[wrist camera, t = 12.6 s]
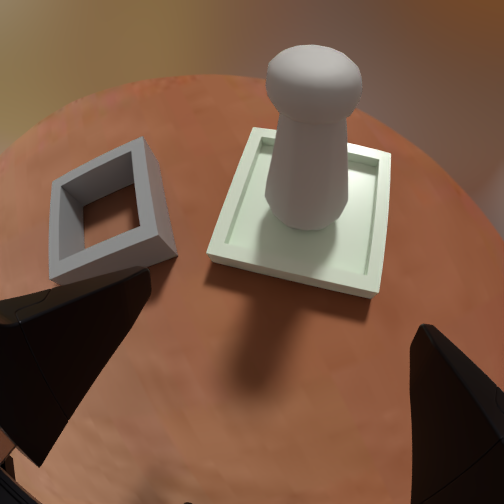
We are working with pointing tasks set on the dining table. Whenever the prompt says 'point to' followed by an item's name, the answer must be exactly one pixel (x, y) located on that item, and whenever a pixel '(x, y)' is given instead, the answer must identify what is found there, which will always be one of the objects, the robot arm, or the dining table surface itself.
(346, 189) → the salt shaker
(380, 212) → the tray
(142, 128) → the dining table surface
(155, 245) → the holder
